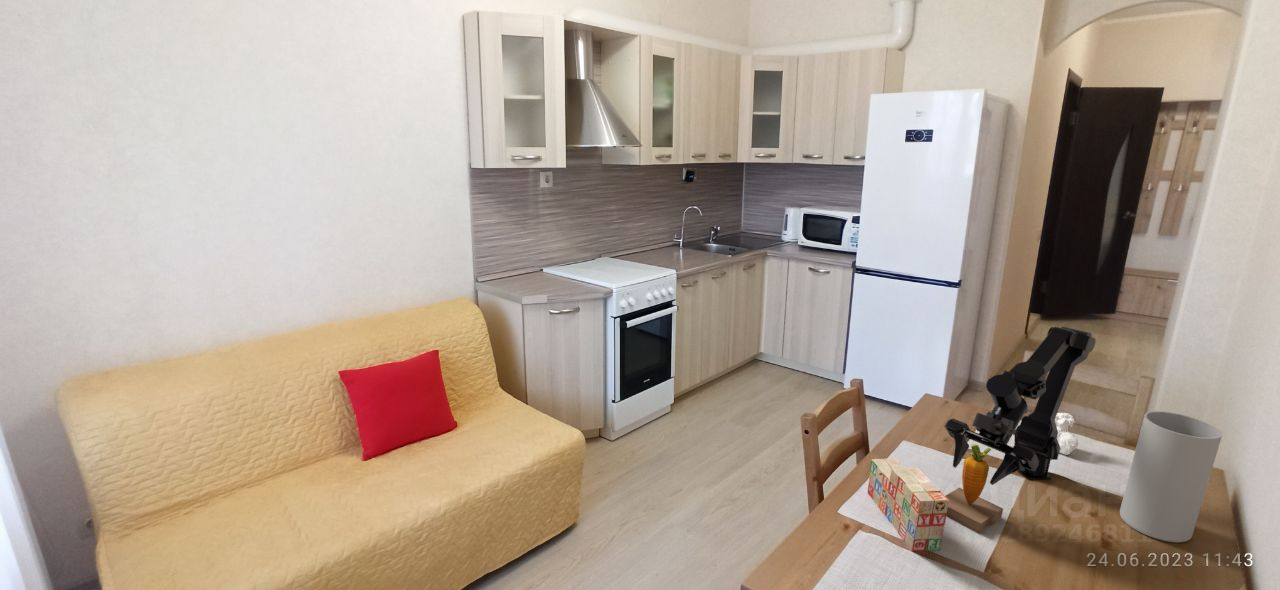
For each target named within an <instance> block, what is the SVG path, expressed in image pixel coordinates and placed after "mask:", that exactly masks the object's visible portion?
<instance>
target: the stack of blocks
mask: <svg viewBox="0 0 1280 590" xmlns="http://www.w3.org/2000/svg"><path fill="white" fill-rule="evenodd" d="M869 466H870V467H869V471H870V472H869V475H868V476H869V477H868V487H867V494H868V496H869V497H870V498H871V499H872V500H873V502H874V503H875V505H876V506H877V507H878V508H879V510H880V512H882V514H883V516H884V517H886V519H887V520H888V522H889V523H890V524H891V526H892V527H893V528H894V530H896V532H897V533H898V535H899V536H900V537H901V539H902V541H903V542H904V543H905V545H906V546H907V548H909V550H910V551H911V552H926V551H927V552H929V551H940V549H941V545H942V540H943V539H942V538H943V535H944V534H943V533H944V528H945V525H946V519H947V517H946V515H947V509H948V504H949V500H948V499H947V498H946V495H945V494H944V493H943V492H942V491H941V490H940V488H939V487H938V486H937V485H936V484H935V483H933V481H932V480H930V478H929V477H927V476H926V475H925V474H924V473H923V472H922V471H921V470H920V469H919V468H918V467H905V466H903V464H901V462H899V460H898V459H897V458H895V457H894V458H874V459H873V458H871V460H870V465H869Z"/></svg>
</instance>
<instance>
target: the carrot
mask: <svg viewBox="0 0 1280 590" xmlns="http://www.w3.org/2000/svg"><path fill="white" fill-rule="evenodd" d="M970 446H971V447H970V448H971V451H972V452H970V456H969V457H967V458H965V459H964V461H963V467H962V475H961V476H962V480H961V481H962V489H963V491H964V495H965V498H966V500H967V503H968V504H972V503H974V502H975V501H976V500H977V499H978V497H980V496H981V495H982V492H983V490H984V488H985V486H986V484H987V479H988V476H989V470H990V465H989V464H988V462H987V460H986V459H984V458H985V457H988V455H987V454H988V453H989V452H990V451H992V448H990V447H987V448H985V449H984V451H983V452H982V453H981V449H980V446H979V445H978V444H975V443H971V445H970Z"/></svg>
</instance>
